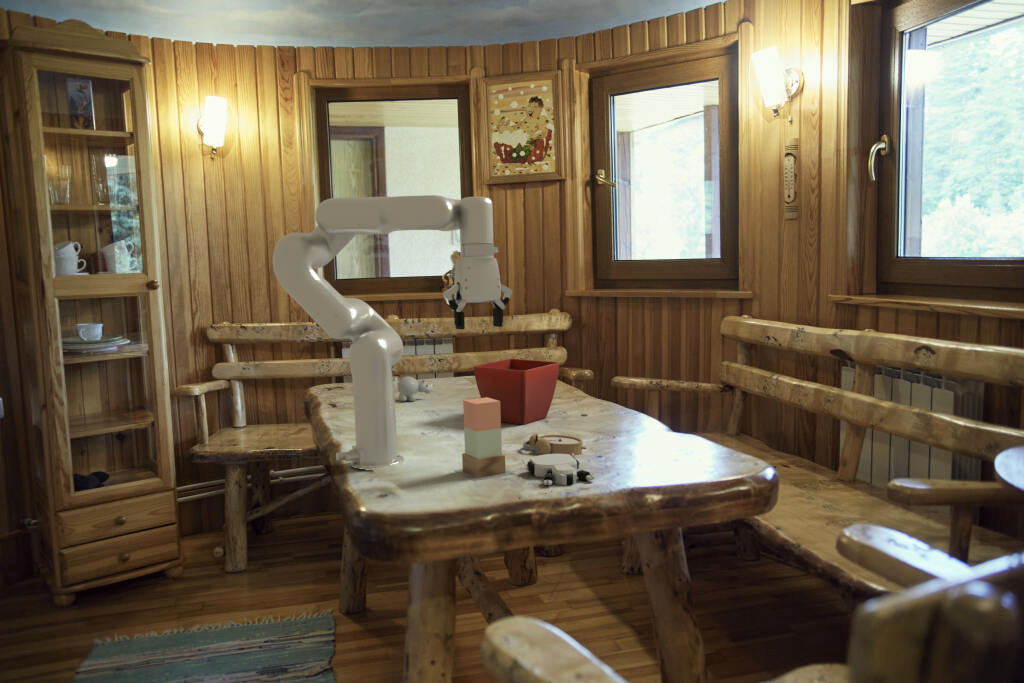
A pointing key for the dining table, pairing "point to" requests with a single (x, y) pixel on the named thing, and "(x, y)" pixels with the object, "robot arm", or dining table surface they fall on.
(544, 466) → the robot toy
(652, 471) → the dining table surface
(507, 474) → the build board
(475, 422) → the terracotta cube
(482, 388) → the plant pot
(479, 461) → the walnut block
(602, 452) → the dining table surface
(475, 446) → the sage cube
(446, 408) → the dining table surface
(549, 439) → the alarm clock
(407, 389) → the round bodied animal figurine
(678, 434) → the dining table surface
